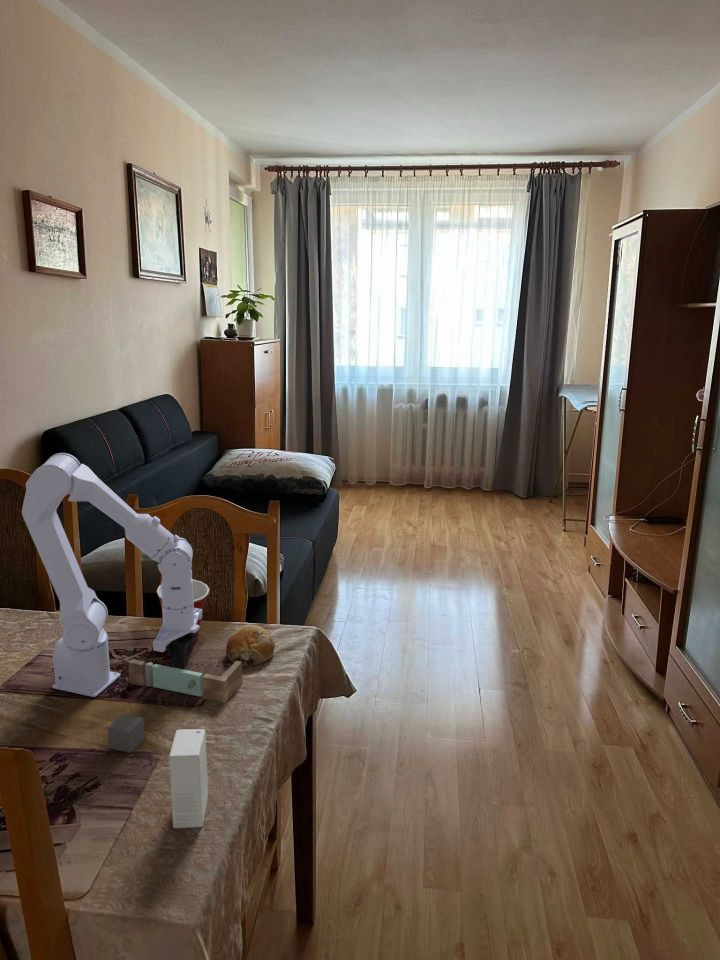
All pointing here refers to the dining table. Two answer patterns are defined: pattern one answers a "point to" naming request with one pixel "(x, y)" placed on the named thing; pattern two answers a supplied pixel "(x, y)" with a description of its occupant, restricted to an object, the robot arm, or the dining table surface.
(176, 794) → the skincare box
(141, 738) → the gray cube block
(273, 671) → the dining table surface
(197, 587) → the plastic cup
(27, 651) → the dining table surface
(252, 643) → the bread roll
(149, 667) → the door
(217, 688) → the wooden blocks
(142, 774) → the dining table surface
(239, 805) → the dining table surface
